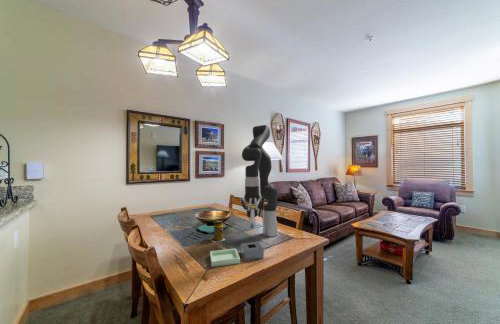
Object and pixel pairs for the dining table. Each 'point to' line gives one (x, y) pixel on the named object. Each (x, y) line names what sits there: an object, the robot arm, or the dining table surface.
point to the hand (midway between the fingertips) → (252, 216)
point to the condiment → (218, 231)
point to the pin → (252, 216)
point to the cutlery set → (203, 230)
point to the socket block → (252, 251)
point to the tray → (224, 257)
